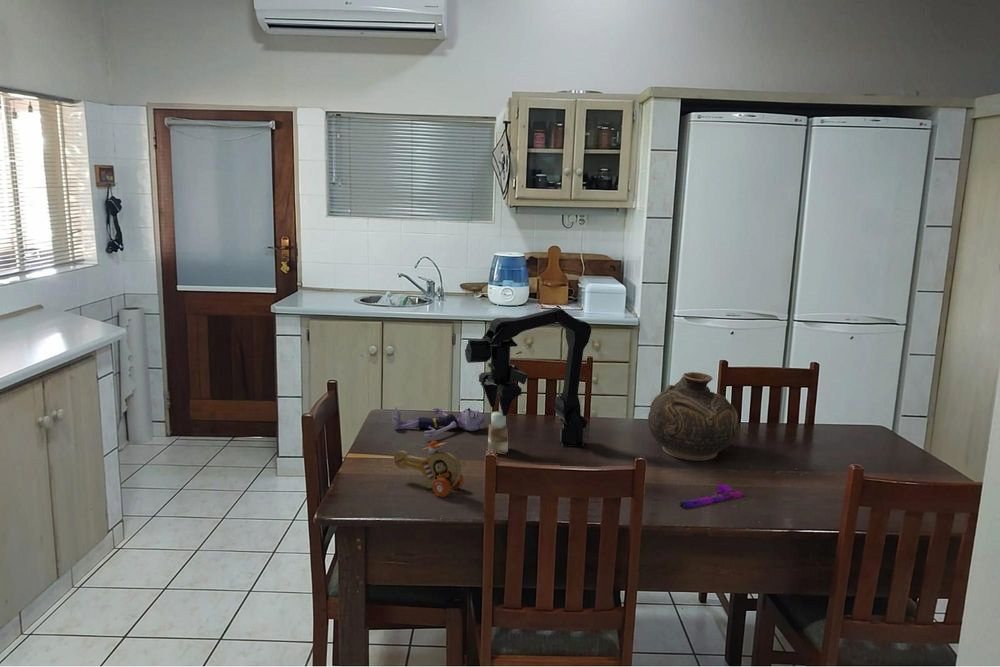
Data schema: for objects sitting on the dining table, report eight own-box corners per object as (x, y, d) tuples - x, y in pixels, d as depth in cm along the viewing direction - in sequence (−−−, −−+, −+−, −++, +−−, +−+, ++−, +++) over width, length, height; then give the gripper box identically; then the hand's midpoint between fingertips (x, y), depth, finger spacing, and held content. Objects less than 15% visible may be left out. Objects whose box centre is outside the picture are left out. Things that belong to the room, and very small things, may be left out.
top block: (504, 436, 232) (504, 423, 231) (507, 441, 227) (507, 428, 226) (488, 436, 231) (488, 424, 230) (491, 441, 226) (491, 429, 225)
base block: (507, 448, 233) (507, 435, 232) (507, 455, 227) (508, 442, 226) (487, 447, 232) (488, 435, 232) (487, 454, 227) (488, 441, 226)
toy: (399, 398, 261) (485, 391, 260) (402, 423, 263) (488, 417, 261) (386, 421, 235) (482, 414, 234) (390, 449, 237) (485, 442, 236)
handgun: (724, 488, 208) (724, 481, 207) (745, 498, 201) (745, 491, 201) (665, 500, 198) (665, 493, 198) (684, 511, 192) (685, 504, 191)
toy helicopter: (450, 500, 193) (451, 449, 190) (385, 483, 203) (385, 434, 200) (467, 489, 200) (468, 440, 197) (403, 473, 210) (404, 426, 207)
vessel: (682, 430, 253) (692, 359, 247) (752, 460, 231) (765, 383, 226) (625, 444, 237) (634, 368, 231) (695, 478, 215) (707, 395, 210)
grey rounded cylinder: (505, 424, 230) (505, 411, 229) (505, 428, 226) (506, 416, 225) (490, 424, 230) (491, 411, 229) (491, 428, 226) (491, 415, 225)
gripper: (538, 366, 219) (536, 417, 222) (511, 352, 236) (510, 400, 239) (503, 369, 214) (501, 421, 217) (478, 354, 231) (477, 403, 234)
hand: (498, 411), depth 227 cm, fingers open, 9 cm apart
